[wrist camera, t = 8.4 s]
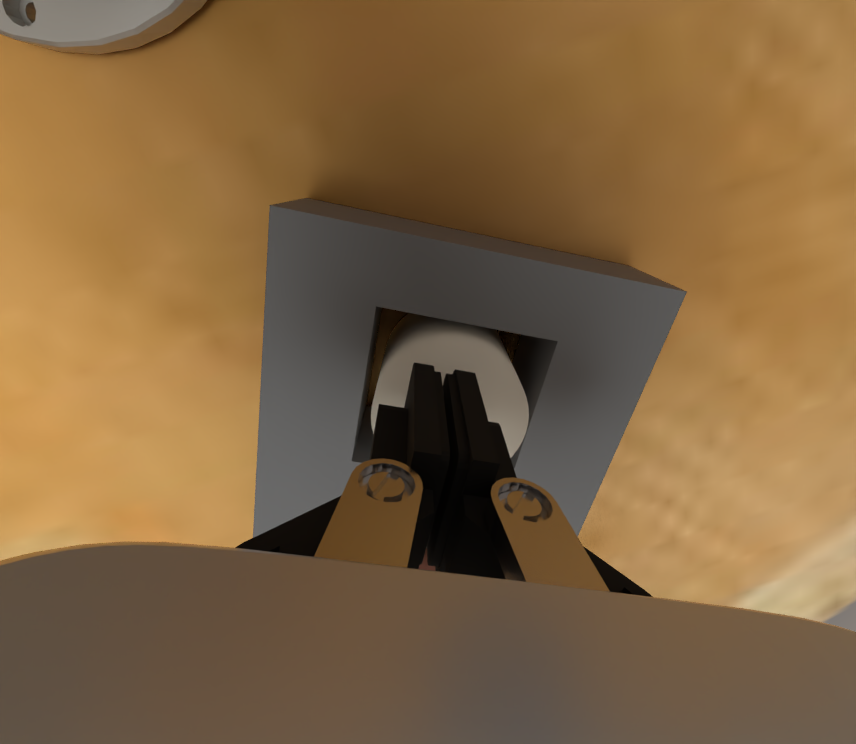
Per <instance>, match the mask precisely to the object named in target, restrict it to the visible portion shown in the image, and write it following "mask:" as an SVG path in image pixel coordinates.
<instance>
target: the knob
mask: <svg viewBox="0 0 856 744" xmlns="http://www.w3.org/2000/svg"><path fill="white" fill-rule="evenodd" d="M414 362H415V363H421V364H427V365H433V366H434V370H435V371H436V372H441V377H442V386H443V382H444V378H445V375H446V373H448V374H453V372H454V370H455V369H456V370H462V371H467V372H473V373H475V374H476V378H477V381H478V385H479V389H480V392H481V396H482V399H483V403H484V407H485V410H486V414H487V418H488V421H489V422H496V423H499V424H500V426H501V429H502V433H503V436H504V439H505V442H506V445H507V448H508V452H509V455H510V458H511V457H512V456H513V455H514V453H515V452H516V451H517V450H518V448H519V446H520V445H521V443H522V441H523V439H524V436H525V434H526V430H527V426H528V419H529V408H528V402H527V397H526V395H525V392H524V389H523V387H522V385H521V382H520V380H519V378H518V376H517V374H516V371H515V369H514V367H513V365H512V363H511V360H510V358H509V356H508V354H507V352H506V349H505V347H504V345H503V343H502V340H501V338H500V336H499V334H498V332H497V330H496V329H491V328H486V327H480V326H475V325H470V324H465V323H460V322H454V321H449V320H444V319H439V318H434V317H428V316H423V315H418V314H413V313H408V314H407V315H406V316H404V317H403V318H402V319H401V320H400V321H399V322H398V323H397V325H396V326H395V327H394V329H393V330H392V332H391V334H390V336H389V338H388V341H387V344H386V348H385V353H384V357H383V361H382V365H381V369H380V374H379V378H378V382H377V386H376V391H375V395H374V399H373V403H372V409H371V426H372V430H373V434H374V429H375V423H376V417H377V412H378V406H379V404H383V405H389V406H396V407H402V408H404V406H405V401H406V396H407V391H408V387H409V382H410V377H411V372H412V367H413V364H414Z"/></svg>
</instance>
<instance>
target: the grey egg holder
mask: <svg viewBox="0 0 856 744" xmlns="http://www.w3.org/2000/svg"><path fill="white" fill-rule="evenodd" d="M686 293H687V292H686V291H684V290H682V289H679V288H677V287H675V286H673V285H671V284H668V283H666V282H664V281H662V280H659V279H657V278H655V277H653V276H651V275H648V274H646V273H644V272H642V271H639V270H637V269H635V268H633V267H631V266H628V265H623V264H618V263H613V262H609V261H604V260H599V259H594V258H590V257H585V256H580V255H575V254H571V253H566V252H561V251H556V250H552V249H547V248H542V247H537V246H533V245H528V244H523V243H518V242H514V241H509V240H504V239H499V238H495V237H490V236H485V235H480V234H476V233H471V232H466V231H461V230H457V229H452V228H447V227H442V226H438V225H433V224H428V223H423V222H419V221H414V220H409V219H404V218H400V217H395V216H390V215H385V214H381V213H376V212H371V211H366V210H362V209H357V208H352V207H347V206H343V205H338V204H333V203H328V202H324V201H319V200H314V199H309V198H304V199H299V200H294V201H289V202H284V203H279V204H273V205H270V212H269V232H268V252H267V271H266V291H265V311H264V331H263V351H262V371H261V390H260V410H259V430H258V450H257V470H256V490H255V509H254V529H253V538H254V537H256V536H258V535H260V534H262V533H264V532H266V531H269V530H271V529H273V528H275V527H277V526H279V525H281V524H283V523H285V522H287V521H289V520H291V519H293V518H296V517H298V516H300V515H302V514H304V513H306V512H308V511H310V510H312V509H314V508H316V507H318V506H320V505H322V504H325V503H327V502H329V501H331V500H333V499H335V498H337V497H339V496H341V495H342V493H343V491H344V489H345V487H346V484H347V482H348V480H349V478H350V475H351V473H352V472H353V470H354V469H355V468H356V466H358V465H360V464H361V463H363V462H365V461H368V460H369V459H370V453H371V447H372V441H373V435H374V434H373V430H372V426H371V409H372V407H371V406H366V403H367V397H368V391H369V385H370V379H371V373H372V366H373V360H374V354H375V348H376V342H377V336H378V329H379V323H380V317H381V311H382V308H387V309H392V310H397V311H402V312H408V313H413V314H418V315H423V316H428V317H434V318H439V319H444V320H449V321H454V322H460V323H465V324H470V325H475V326H480V327H486V328H491V329H496V330H501V331H506V332H511V333H517V334H521V336H520V339H519V343H518V346H517V349H516V353H515V356H514V359H513V363H512V365H513V367H514V369H515V371H516V374H517V376H518V378H519V380H520V382H521V385H522V387H523V389H524V392H525V395H526V397H527V402H528V408H529V419H528V426H527V430H526V434H525V436H524V439H523V441H522V443H521V445H520V446H519V448H518V450H517V451H516V452H515V453H514V455H513V456H512V457H511V461H512V464H513V467H514V471H515V474H516V477H517V478H520V479H525V480H528V481H530V482H533V483H535V484H537V485H539V486H540V487H542V488H544V489H545V490H546V491H547V492H548V493H550V494H551V495H552V497H553V498H554V499H555V500H556V502H557V503H558V505H559V507H560V508H561V510H562V512H563V513H564V515H565V517H566V518H567V520H568V522H569V523H570V525H571V527H572V529H573V530H574V532H575V534H576V535H577V537H578V534H579V532H580V530H581V528H582V525H583V523H584V521H585V519H586V516H587V514H588V512H589V510H590V507H591V505H592V503H593V501H594V499H595V496H596V494H597V492H598V490H599V487H600V485H601V483H602V481H603V478H604V476H605V474H606V472H607V469H608V467H609V465H610V463H611V460H612V458H613V456H614V454H615V452H616V449H617V447H618V445H619V443H620V440H621V438H622V436H623V434H624V431H625V429H626V427H627V425H628V422H629V420H630V418H631V416H632V414H633V411H634V409H635V407H636V405H637V402H638V400H639V398H640V396H641V393H642V391H643V389H644V387H645V384H646V382H647V380H648V378H649V376H650V373H651V371H652V369H653V367H654V364H655V362H656V360H657V358H658V355H659V353H660V351H661V349H662V346H663V344H664V342H665V340H666V338H667V335H668V333H669V331H670V329H671V326H672V324H673V322H674V320H675V317H676V315H677V313H678V311H679V308H680V306H681V304H682V302H683V300H684V297H685V295H686ZM426 548H427V547H426Z"/></svg>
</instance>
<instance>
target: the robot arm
mask: <svg viewBox="0 0 856 744" xmlns="http://www.w3.org/2000/svg"><path fill="white" fill-rule="evenodd" d="M206 1H207V0H0V34H2V35H5V36H8V37H10V38H13V39H15V40H19V41H22V42H26V43H30V44H33V45H37V46H40V47H44V48H47V49H51V50H55V51H58V52H70V53H85V54H104V53H110V52H116V51H122V50H128V49H134V48H138V47H140V46H142V45H144V44H147V43H149V42H151V41H153V40H155V39H158V38H160V37H162V36H164V35H167V34H169V33H171V32H172V31H173V30H175V29H176V28H177V27H178V26H180V25H181V24H182V23H183V22H185V21H186V20H187V19H188V18H190V17H191V16H192V15H193V14H195V13H196V12H197V11H198V10H200V9H201V8H202V6H203V5H204V4H205V3H206ZM426 547H427V562H428V565H429V566H435V571H432V570H423V569H418V568H419V565H421V564H422V562H423V558H424V555H425V551H426ZM0 744H856V632H854V631H851V630H848V629H845V628H842V627H839V626H834V625H830V624H826V623H822V622H818V621H813V620H809V619H805V618H800V617H794V616H787V615H781V614H775V613H769V612H762V611H756V610H750V609H743V608H735V607H728V606H720V605H712V604H704V603H696V602H688V601H680V600H672V599H664V598H656V597H652V596H651V595H650V594H649V593H648V592H646V591H645V590H644V589H642V588H641V587H639V586H638V585H637V584H635V583H634V582H632V581H631V580H630V579H628V578H627V577H625V576H624V575H623V574H621V573H620V572H618V571H617V570H616V569H614V568H613V567H611V566H610V565H609V564H607V563H606V562H604V561H603V560H602V559H600V558H599V557H597V556H596V555H595V554H593V553H592V552H590V551H589V550H588V549H586V548H585V547H584V546H583V545H582V544H581V542H580V540H579V539H578V537H577V535H576V534H575V532H574V530H573V529H572V527H571V525H570V523H569V522H568V520H567V518H566V517H565V515H564V513H563V512H562V510H561V508H560V507H559V505H558V503H557V502H556V500H555V499H554V498H553V497H552V495H551V494H550V493H548V492H547V491H546V490H545V489H544V488H542V487H540V486H539V485H537V484H535V483H533V482H530V481H528V480H525V479H520V478H517V477H516V474H515V471H514V467H513V464H512V461H511V458H510V455H509V452H508V448H507V445H506V442H505V439H504V436H503V433H502V429H501V426H500V424H499V423H496V422H489V421H488V418H487V414H486V410H485V407H484V403H483V399H482V396H481V392H480V389H479V385H478V381H477V378H476V374H475V373H473V372H467V371H462V370H456V369H455V370H454V372H453V374H448V373H446V375H445V378H444V382H443V386H442V377H441V372H436V371H435V370H434V366H433V365H427V364H421V363H415V362H414V364H413V367H412V372H411V377H410V382H409V387H408V391H407V396H406V401H405V406H404V408H402V407H396V406H389V405H383V404H379V406H378V412H377V417H376V423H375V429H374V435H373V441H372V447H371V453H370V459H369V460H368V461H365V462H363V463H361V464H360V465H358V466H356V468H355V469H354V470H353V472H352V473H351V475H350V478H349V480H348V482H347V484H346V487H345V489H344V491H343V493H342V495H341V496H339V497H337V498H335V499H333V500H331V501H329V502H327V503H325V504H322V505H320V506H318V507H316V508H314V509H312V510H310V511H308V512H306V513H304V514H302V515H300V516H298V517H296V518H293V519H291V520H289V521H287V522H285V523H283V524H281V525H279V526H277V527H275V528H273V529H271V530H269V531H266V532H264V533H262V534H260V535H258V536H256V537H254V538H252V539H250V540H248V541H246V542H244V543H242V544H240V545H239V546H237V547H236V548H230V547H218V546H206V545H194V544H181V543H169V542H112V543H97V544H83V545H76V546H70V547H64V548H58V549H51V550H45V551H39V552H33V553H29V554H25V555H21V556H17V557H13V558H9V559H5V560H2V561H0Z"/></svg>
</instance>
